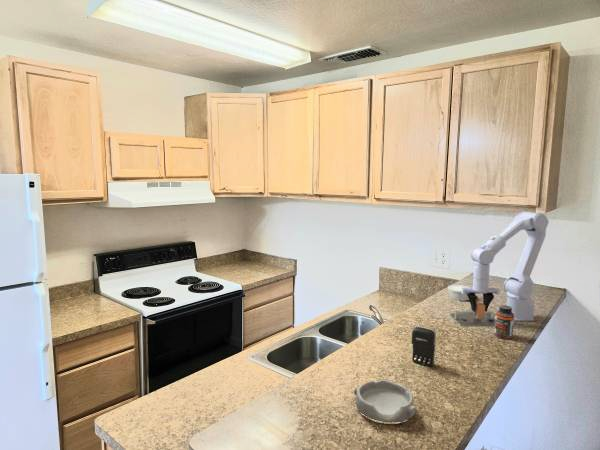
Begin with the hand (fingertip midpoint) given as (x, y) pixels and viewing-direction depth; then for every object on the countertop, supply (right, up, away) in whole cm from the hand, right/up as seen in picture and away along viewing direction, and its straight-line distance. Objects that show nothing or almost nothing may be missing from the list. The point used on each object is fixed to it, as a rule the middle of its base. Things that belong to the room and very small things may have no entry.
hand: (479, 310), depth 155 cm
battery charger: (-34, -9, -34) cm, 49 cm away
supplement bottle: (+2, -6, -15) cm, 16 cm away
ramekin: (+4, -1, +28) cm, 29 cm away
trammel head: (0, -4, 0) cm, 4 cm away
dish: (-52, -13, -58) cm, 79 cm away
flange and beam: (-2, -4, +1) cm, 4 cm away
